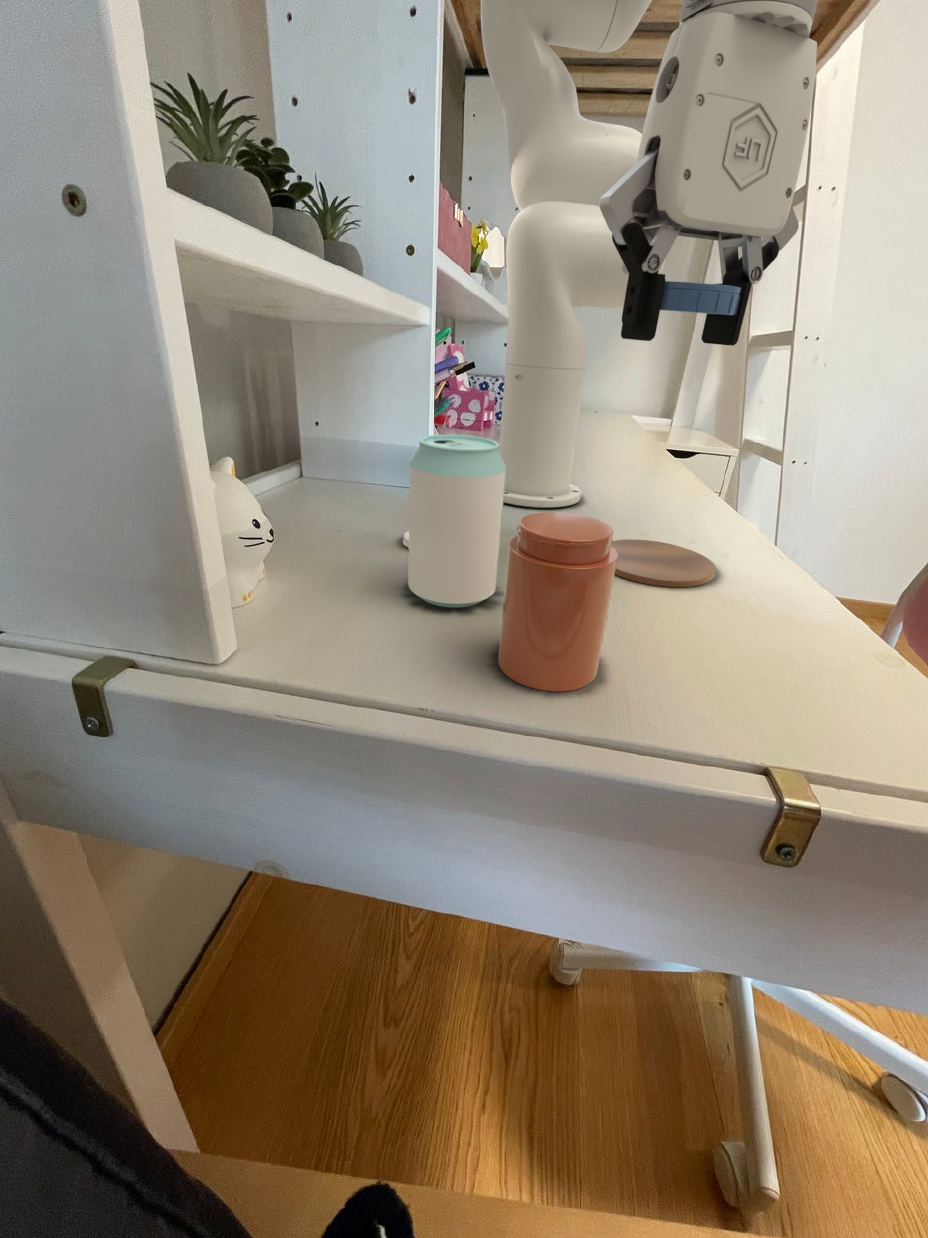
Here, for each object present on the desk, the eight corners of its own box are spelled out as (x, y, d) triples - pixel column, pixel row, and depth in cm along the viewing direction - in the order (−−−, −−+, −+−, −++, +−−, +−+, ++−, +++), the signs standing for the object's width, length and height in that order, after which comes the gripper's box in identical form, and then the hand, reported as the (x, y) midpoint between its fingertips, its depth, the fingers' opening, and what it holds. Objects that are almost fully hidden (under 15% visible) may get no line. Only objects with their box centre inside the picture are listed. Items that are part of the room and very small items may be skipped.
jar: (484, 645, 40) (495, 511, 36) (569, 636, 42) (589, 507, 38) (520, 697, 34) (537, 546, 30) (615, 684, 36) (644, 540, 32)
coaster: (575, 547, 59) (576, 542, 59) (668, 542, 62) (669, 536, 62) (634, 591, 50) (636, 585, 49) (740, 582, 53) (742, 576, 53)
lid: (753, 316, 40) (761, 287, 39) (658, 309, 39) (664, 279, 38) (706, 313, 45) (712, 288, 45) (622, 307, 45) (627, 281, 44)
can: (399, 606, 45) (400, 445, 39) (417, 572, 51) (420, 429, 45) (491, 616, 44) (505, 453, 39) (498, 580, 50) (511, 436, 45)
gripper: (669, -64, 29) (607, 339, 37) (906, 19, 35) (807, 350, 43) (587, 0, 35) (549, 333, 43) (801, 61, 41) (732, 343, 49)
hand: (678, 339), depth 43 cm, fingers closed on lid, 6 cm apart
